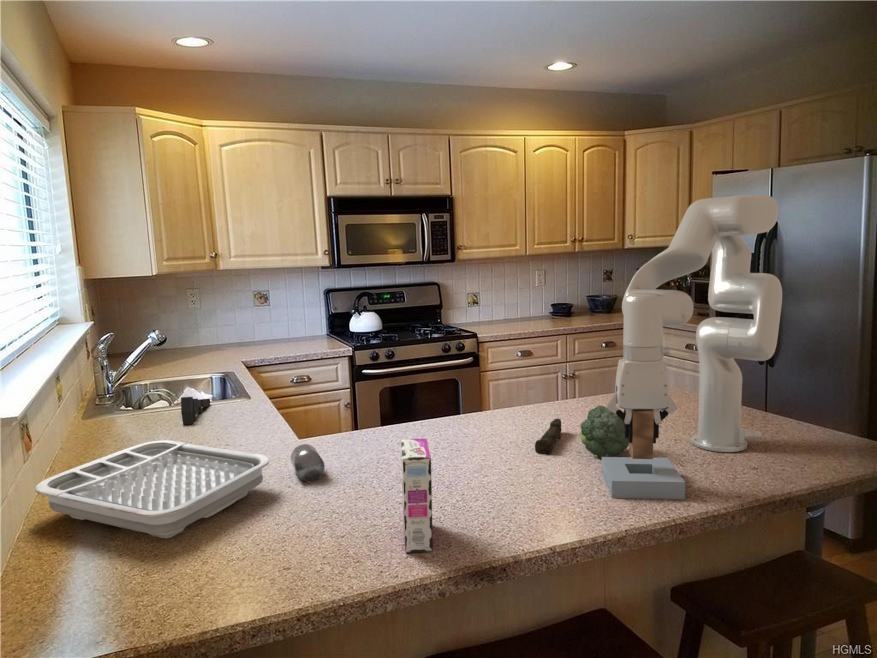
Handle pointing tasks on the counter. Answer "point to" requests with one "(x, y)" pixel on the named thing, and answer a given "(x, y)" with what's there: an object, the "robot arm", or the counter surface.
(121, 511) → the dish rack
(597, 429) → the vegetable
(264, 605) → the counter surface
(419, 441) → the candy bar box
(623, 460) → the socket block
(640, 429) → the square bit
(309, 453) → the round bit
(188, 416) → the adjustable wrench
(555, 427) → the charcoal colored rounded log
